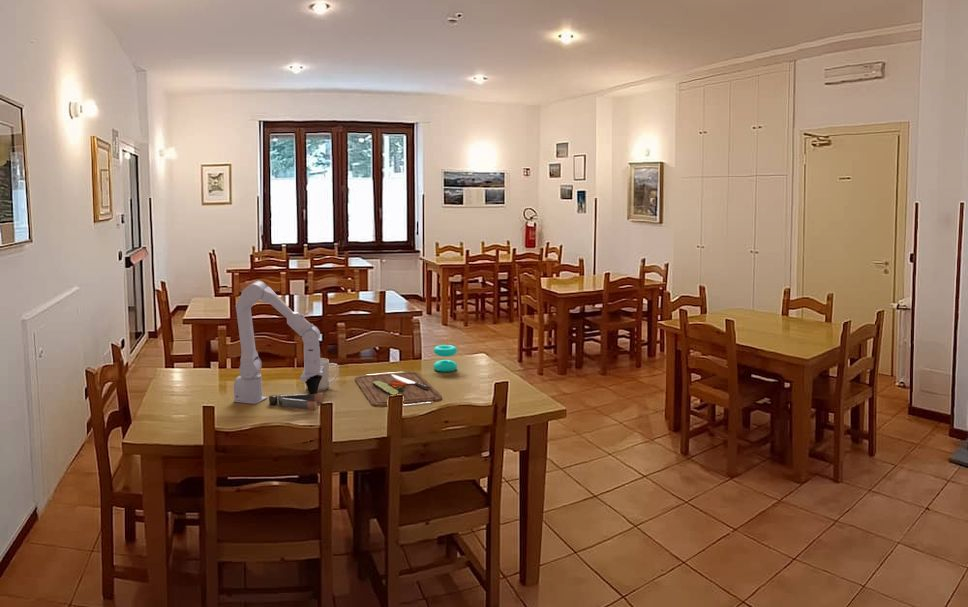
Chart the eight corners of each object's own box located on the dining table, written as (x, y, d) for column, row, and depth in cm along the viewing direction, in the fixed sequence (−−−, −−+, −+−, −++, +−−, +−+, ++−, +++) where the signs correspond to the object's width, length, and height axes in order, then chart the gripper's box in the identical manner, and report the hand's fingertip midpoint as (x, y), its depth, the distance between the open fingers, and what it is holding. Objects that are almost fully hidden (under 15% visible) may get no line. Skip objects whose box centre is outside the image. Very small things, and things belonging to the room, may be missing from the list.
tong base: (267, 405, 272) (267, 397, 271) (272, 402, 275) (271, 394, 274) (315, 410, 267) (314, 402, 266) (319, 407, 270) (318, 399, 269)
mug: (305, 392, 288) (304, 363, 286) (307, 385, 297) (306, 358, 295) (337, 390, 290) (336, 362, 288) (337, 384, 299) (337, 357, 297)
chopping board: (352, 377, 310) (352, 370, 310) (415, 372, 319) (415, 365, 319) (374, 410, 268) (374, 402, 268) (446, 403, 277) (446, 395, 277)
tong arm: (278, 405, 271) (278, 397, 271) (278, 402, 274) (278, 394, 273) (323, 402, 275) (322, 394, 274) (322, 399, 277) (322, 392, 277)
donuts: (458, 349, 317) (435, 350, 315) (458, 372, 319) (435, 373, 317) (455, 343, 327) (432, 344, 325) (455, 366, 328) (432, 366, 327)
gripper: (312, 365, 268) (313, 401, 270) (331, 355, 282) (332, 390, 284) (294, 363, 270) (295, 400, 272) (314, 354, 284) (315, 389, 286)
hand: (313, 395), depth 278 cm, fingers closed
